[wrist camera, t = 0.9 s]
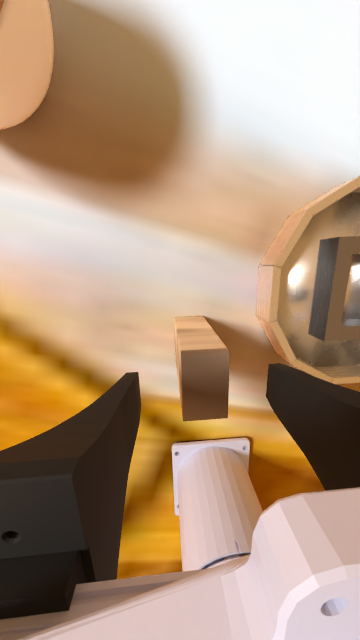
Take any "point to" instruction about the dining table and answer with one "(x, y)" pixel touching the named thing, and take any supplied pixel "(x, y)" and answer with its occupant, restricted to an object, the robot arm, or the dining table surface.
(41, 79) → the lidded jar
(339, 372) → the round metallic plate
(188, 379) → the wood wick
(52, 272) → the dining table surface
